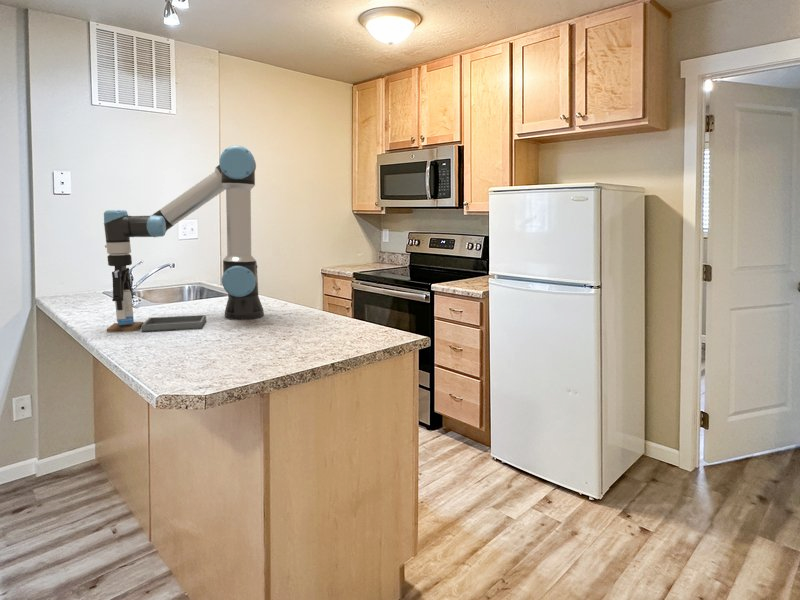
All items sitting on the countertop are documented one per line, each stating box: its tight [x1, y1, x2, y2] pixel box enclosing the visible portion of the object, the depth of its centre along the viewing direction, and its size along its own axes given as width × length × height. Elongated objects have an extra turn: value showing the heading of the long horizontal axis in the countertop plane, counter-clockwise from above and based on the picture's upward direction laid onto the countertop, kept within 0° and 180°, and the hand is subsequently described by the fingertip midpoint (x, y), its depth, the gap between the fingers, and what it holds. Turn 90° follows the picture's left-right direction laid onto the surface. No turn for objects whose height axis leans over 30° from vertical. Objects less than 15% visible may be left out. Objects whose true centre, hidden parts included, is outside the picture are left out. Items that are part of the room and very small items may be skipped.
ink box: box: [114, 290, 135, 325], centre depth 190 cm, size 8×5×15 cm, turn 33°
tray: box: [140, 314, 207, 333], centre depth 194 cm, size 20×14×2 cm
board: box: [106, 321, 145, 333], centre depth 192 cm, size 10×10×1 cm
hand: (125, 316), depth 191 cm, fingers closed on ink box, 9 cm apart
